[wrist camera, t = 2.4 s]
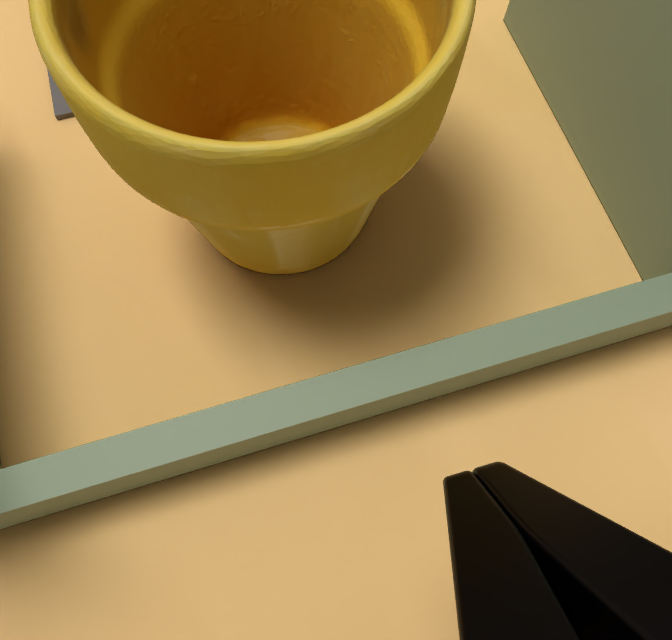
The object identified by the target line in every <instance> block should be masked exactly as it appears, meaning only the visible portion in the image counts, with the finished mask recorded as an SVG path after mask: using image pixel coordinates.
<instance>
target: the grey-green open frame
mask: <svg viewBox="0 0 672 640" xmlns="http://www.w3.org/2000/svg"><path fill="white" fill-rule="evenodd" d="M504 22H505V24H506V26H507V27H508V29H509V31H510V33H511V35H512V37H513V39H514V41H515V42H516V44H517V46H518V48H519V50H520V52H521V54H522V55H523V57H524V59H525V61H526V63H527V65H528V67H529V69H530V70H531V72H532V74H533V76H534V78H535V80H536V82H537V83H538V85H539V87H540V89H541V91H542V93H543V95H544V97H545V98H546V100H547V102H548V104H549V106H550V108H551V110H552V111H553V113H554V115H555V117H556V119H557V121H558V123H559V125H560V126H561V128H562V130H563V132H564V134H565V136H566V138H567V139H568V141H569V143H570V145H571V147H572V149H573V151H574V153H575V154H576V156H577V158H578V160H579V162H580V164H581V166H582V167H583V169H584V171H585V173H586V175H587V177H588V179H589V180H590V182H591V184H592V186H593V188H594V190H595V192H596V194H597V195H598V197H599V199H600V201H601V203H602V205H603V207H604V208H605V210H606V212H607V214H608V216H609V218H610V220H611V222H612V223H613V225H614V227H615V229H616V231H617V233H618V235H619V236H620V238H621V240H622V242H623V244H624V246H625V248H626V250H627V251H628V253H629V255H630V257H631V259H632V261H633V263H634V264H635V266H636V268H637V270H638V272H639V274H640V276H641V278H642V279H643V281H641V282H638V283H634V284H631V285H627V286H624V287H621V288H617V289H614V290H610V291H607V292H603V293H600V294H597V295H593V296H590V297H586V298H583V299H580V300H576V301H573V302H569V303H566V304H562V305H559V306H556V307H552V308H549V309H545V310H542V311H539V312H535V313H532V314H528V315H525V316H522V317H518V318H515V319H511V320H508V321H504V322H501V323H498V324H494V325H491V326H487V327H484V328H481V329H477V330H474V331H470V332H467V333H463V334H460V335H457V336H453V337H450V338H446V339H443V340H440V341H436V342H433V343H429V344H426V345H423V346H419V347H416V348H412V349H409V350H405V351H402V352H399V353H395V354H392V355H388V356H385V357H382V358H378V359H375V360H371V361H368V362H364V363H361V364H358V365H354V366H351V367H347V368H344V369H341V370H337V371H334V372H330V373H327V374H324V375H320V376H317V377H313V378H310V379H306V380H303V381H300V382H296V383H293V384H289V385H286V386H283V387H279V388H276V389H272V390H269V391H265V392H262V393H259V394H255V395H252V396H248V397H245V398H242V399H238V400H235V401H231V402H228V403H225V404H221V405H218V406H214V407H211V408H207V409H204V410H201V411H197V412H194V413H190V414H187V415H184V416H180V417H177V418H173V419H170V420H166V421H163V422H160V423H156V424H153V425H149V426H146V427H143V428H139V429H136V430H132V431H129V432H126V433H122V434H119V435H115V436H112V437H108V438H105V439H102V440H98V441H95V442H91V443H88V444H85V445H81V446H78V447H74V448H71V449H67V450H64V451H61V452H57V453H54V454H50V455H47V456H44V457H40V458H37V459H33V460H30V461H27V462H23V463H20V464H16V465H13V466H9V467H6V468H3V469H1V462H0V529H3V528H6V527H10V526H13V525H16V524H20V523H23V522H26V521H29V520H33V519H36V518H39V517H43V516H46V515H49V514H53V513H56V512H59V511H62V510H66V509H69V508H72V507H76V506H79V505H82V504H86V503H89V502H92V501H95V500H99V499H102V498H105V497H109V496H112V495H115V494H118V493H122V492H125V491H128V490H132V489H135V488H138V487H142V486H145V485H148V484H151V483H155V482H158V481H161V480H165V479H168V478H171V477H175V476H178V475H181V474H184V473H188V472H191V471H194V470H198V469H201V468H204V467H208V466H211V465H214V464H217V463H221V462H224V461H227V460H231V459H234V458H237V457H240V456H244V455H247V454H250V453H254V452H257V451H260V450H264V449H267V448H270V447H273V446H277V445H280V444H283V443H287V442H290V441H293V440H297V439H300V438H303V437H306V436H310V435H313V434H316V433H320V432H323V431H326V430H330V429H333V428H336V427H339V426H343V425H346V424H349V423H353V422H356V421H359V420H363V419H366V418H369V417H372V416H376V415H379V414H382V413H386V412H389V411H392V410H395V409H399V408H402V407H405V406H409V405H412V404H415V403H419V402H422V401H425V400H428V399H432V398H435V397H438V396H442V395H445V394H448V393H452V392H455V391H458V390H461V389H465V388H468V387H471V386H475V385H478V384H481V383H485V382H488V381H491V380H494V379H498V378H501V377H504V376H508V375H511V374H514V373H517V372H521V371H524V370H527V369H531V368H534V367H537V366H541V365H544V364H547V363H550V362H554V361H557V360H560V359H564V358H567V357H570V356H574V355H577V354H580V353H583V352H587V351H590V350H593V349H597V348H600V347H603V346H607V345H610V344H613V343H616V342H620V341H623V340H626V339H630V338H633V337H636V336H640V335H643V334H646V333H649V332H653V331H656V330H659V329H663V328H666V327H669V326H672V0H510V2H509V5H508V8H507V11H506V14H505V17H504Z"/></svg>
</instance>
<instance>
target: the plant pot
mask: <svg viewBox="0 0 672 640" xmlns="http://www.w3.org/2000/svg"><path fill="white" fill-rule="evenodd" d="M28 2H29V11H30V19H31V25H32V29H33V33H34V36H35V40H36V43H37V46H38V48H39V51H40V54H41V56H42V59H43V61H44V62H45V64H46V66H47V68H48V70H49V72H50V74H51V76H52V78H53V80H54V82H55V83H56V85H57V87H58V88H59V90H60V92H61V94H62V95H63V97H64V99H65V100H66V102H67V104H68V106H69V107H70V109H71V111H72V112H73V114H74V116H75V117H76V119H77V121H78V122H79V124H80V125H81V127H82V128H83V130H84V131H85V133H86V134H87V135H88V137H89V138H90V140H91V141H92V143H93V144H94V146H95V147H96V149H97V150H98V151H99V153H100V154H101V155H102V157H103V158H104V159H105V160H106V162H107V163H108V164H109V165H110V166H111V168H112V169H113V170H114V171H115V172H116V173H117V174H118V175H119V176H120V177H121V178H122V179H123V180H124V181H125V182H126V183H127V184H128V185H130V186H131V187H132V188H133V189H135V190H136V191H137V192H138V193H140V194H141V195H143V196H144V197H145V198H147V199H148V200H150V201H151V202H153V203H155V204H157V205H158V206H160V207H162V208H164V209H166V210H168V211H170V212H172V213H174V214H176V215H178V216H181V217H183V218H186V219H188V220H189V221H190V222H191V223H192V224H193V225H194V226H195V227H196V228H197V229H198V230H199V232H200V233H201V234H202V235H203V236H204V237H205V238H206V239H207V240H208V241H209V242H210V243H211V244H212V245H213V246H214V247H215V248H216V249H217V250H218V251H219V252H220V253H221V254H222V255H224V256H225V257H226V258H228V259H229V260H231V261H232V262H234V263H236V264H238V265H240V266H242V267H245V268H247V269H250V270H254V271H257V272H261V273H268V274H293V273H298V272H304V271H308V270H311V269H314V268H316V267H319V266H321V265H323V264H326V263H327V262H329V261H331V260H333V259H334V258H336V257H337V256H338V255H340V254H341V253H342V252H343V251H344V250H345V249H346V248H347V247H348V246H349V245H350V244H351V243H352V242H353V241H354V240H355V239H356V237H357V236H358V234H359V233H360V231H361V229H362V228H363V226H364V224H365V222H366V220H367V218H368V217H369V215H370V213H371V211H372V209H373V207H374V206H375V204H376V202H377V200H378V199H379V197H380V195H381V194H383V193H384V192H385V191H387V190H388V189H389V188H391V187H392V186H393V185H394V184H396V183H397V182H398V181H399V180H400V179H401V178H402V177H404V176H405V175H406V174H407V173H408V172H409V171H410V170H411V169H412V167H413V166H414V165H415V164H416V163H417V162H418V160H419V159H420V158H421V157H422V155H423V154H424V152H425V151H426V150H427V148H428V147H429V145H430V144H431V142H432V140H433V138H434V136H435V135H436V133H437V131H438V129H439V126H440V124H441V122H442V119H443V117H444V114H445V112H446V109H447V106H448V103H449V100H450V98H451V95H452V92H453V89H454V87H455V83H456V80H457V77H458V74H459V70H460V67H461V64H462V60H463V57H464V53H465V49H466V46H467V42H468V38H469V34H470V30H471V27H472V22H473V17H474V12H475V5H476V0H28Z"/></svg>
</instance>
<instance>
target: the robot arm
mask: <svg viewBox="0 0 672 640" xmlns="http://www.w3.org/2000/svg"><path fill="white" fill-rule="evenodd" d="M443 486H444V495H445V505H446V514H447V524H448V533H449V543H450V552H451V562H452V572H453V581H454V591H455V600H456V610H457V619H458V629H459V638H460V640H672V552H670V551H668V550H666V549H664V548H662V547H660V546H659V545H657V544H655V543H653V542H651V541H649V540H647V539H645V538H644V537H642V536H640V535H638V534H636V533H634V532H632V531H630V530H629V529H627V528H625V527H623V526H621V525H619V524H617V523H615V522H614V521H612V520H610V519H608V518H606V517H604V516H602V515H600V514H599V513H597V512H595V511H593V510H591V509H589V508H587V507H585V506H584V505H582V504H580V503H578V502H576V501H574V500H572V499H570V498H569V497H567V496H565V495H563V494H561V493H559V492H557V491H555V490H554V489H552V488H550V487H548V486H546V485H544V484H542V483H540V482H539V481H537V480H535V479H533V478H531V477H529V476H527V475H525V474H524V473H522V472H520V471H518V470H516V469H514V468H512V467H510V466H509V465H507V464H505V463H502V462H494V463H491V464H487V465H484V466H481V467H477V468H475V469H474V470H473V472H470V471H464V472H461V473H457V474H454V475H451V476H447V477H445V478H444V480H443Z"/></svg>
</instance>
